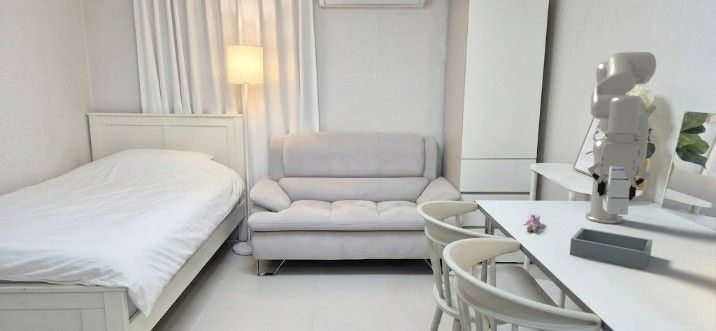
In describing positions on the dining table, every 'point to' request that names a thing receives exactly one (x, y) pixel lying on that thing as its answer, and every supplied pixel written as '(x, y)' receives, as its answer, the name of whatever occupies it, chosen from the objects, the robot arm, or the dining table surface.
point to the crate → (611, 248)
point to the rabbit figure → (532, 223)
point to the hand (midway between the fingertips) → (615, 196)
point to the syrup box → (616, 191)
